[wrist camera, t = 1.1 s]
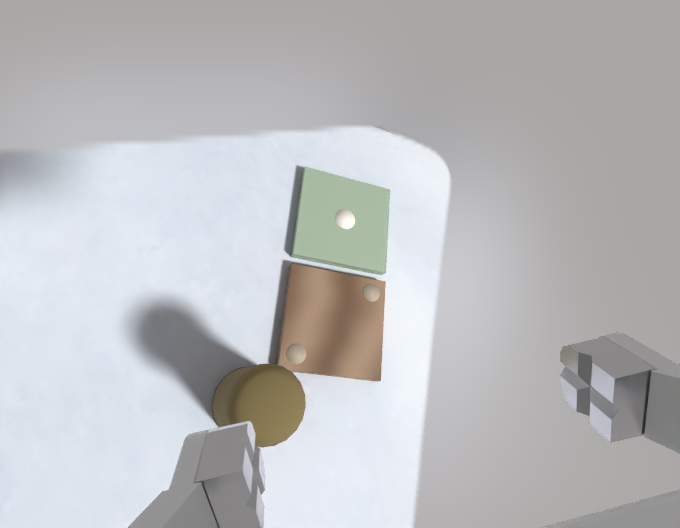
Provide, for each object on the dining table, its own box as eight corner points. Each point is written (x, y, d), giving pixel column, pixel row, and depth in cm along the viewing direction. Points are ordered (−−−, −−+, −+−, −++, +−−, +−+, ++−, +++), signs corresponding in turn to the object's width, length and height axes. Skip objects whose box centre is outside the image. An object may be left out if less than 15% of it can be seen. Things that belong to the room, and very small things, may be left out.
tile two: (275, 369, 36) (278, 368, 36) (289, 266, 40) (292, 263, 39) (376, 381, 39) (380, 380, 38) (381, 284, 43) (385, 281, 42)
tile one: (291, 257, 40) (293, 253, 39) (302, 171, 44) (305, 166, 43) (381, 275, 43) (386, 272, 42) (386, 193, 47) (390, 189, 46)
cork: (218, 449, 33) (229, 471, 23) (206, 375, 34) (213, 366, 25) (288, 428, 35) (326, 440, 26) (275, 359, 37) (306, 346, 27)
